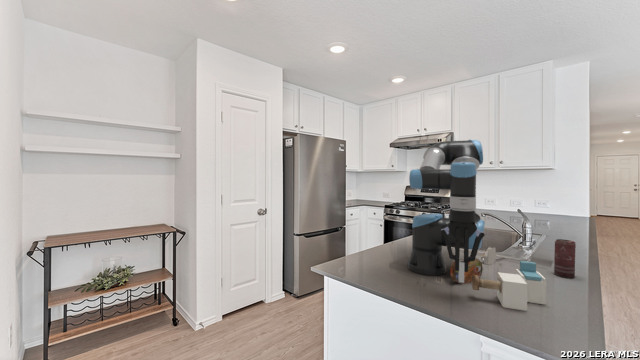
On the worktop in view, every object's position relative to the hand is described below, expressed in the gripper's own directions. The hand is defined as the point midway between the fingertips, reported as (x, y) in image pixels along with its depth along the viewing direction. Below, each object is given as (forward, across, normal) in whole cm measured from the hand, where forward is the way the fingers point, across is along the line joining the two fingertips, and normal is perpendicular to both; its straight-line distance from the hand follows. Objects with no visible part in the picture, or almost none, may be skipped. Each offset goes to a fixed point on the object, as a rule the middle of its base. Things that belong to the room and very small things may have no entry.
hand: (461, 280), depth 91 cm
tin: (+5, +3, +15) cm, 16 cm away
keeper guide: (+5, +20, +7) cm, 22 cm away
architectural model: (+6, +14, +42) cm, 45 cm away
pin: (+2, +10, 0) cm, 10 cm away
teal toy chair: (-2, +20, +7) cm, 22 cm away
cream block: (+5, +14, 0) cm, 15 cm away
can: (+5, +39, +37) cm, 54 cm away
